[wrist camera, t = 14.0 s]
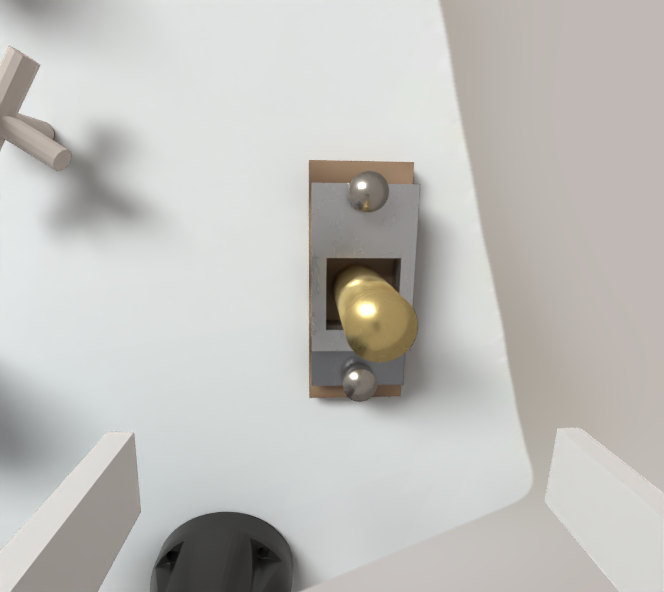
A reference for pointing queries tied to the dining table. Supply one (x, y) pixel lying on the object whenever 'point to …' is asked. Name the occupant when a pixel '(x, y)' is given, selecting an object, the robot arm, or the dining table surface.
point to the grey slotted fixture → (359, 242)
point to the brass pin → (373, 314)
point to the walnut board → (383, 266)
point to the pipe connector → (23, 131)
